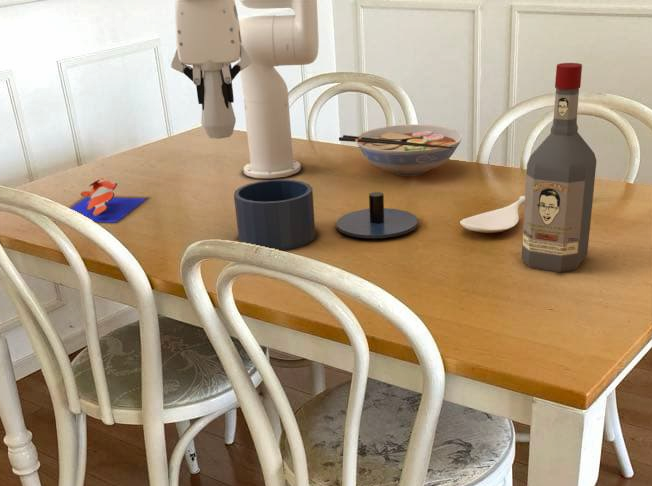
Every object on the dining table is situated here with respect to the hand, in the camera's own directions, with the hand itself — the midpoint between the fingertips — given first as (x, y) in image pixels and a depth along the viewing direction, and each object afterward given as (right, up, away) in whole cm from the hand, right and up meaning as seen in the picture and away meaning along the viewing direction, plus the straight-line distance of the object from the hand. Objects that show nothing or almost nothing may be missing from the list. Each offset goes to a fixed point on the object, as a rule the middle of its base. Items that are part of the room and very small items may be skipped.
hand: (216, 106), depth 146 cm
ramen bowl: (+35, 0, +43) cm, 56 cm away
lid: (+27, -17, +13) cm, 35 cm away
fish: (-28, -11, +30) cm, 42 cm away
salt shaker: (0, -4, +3) cm, 5 cm away
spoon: (+54, -15, +15) cm, 58 cm away
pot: (+9, -20, +11) cm, 24 cm away
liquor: (+55, -27, -5) cm, 62 cm away
